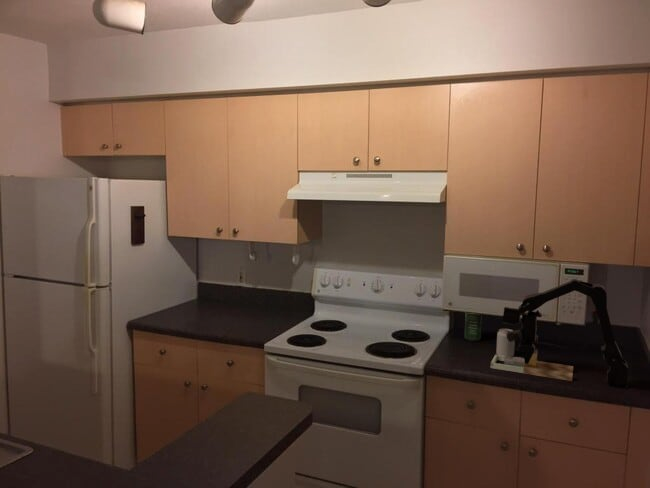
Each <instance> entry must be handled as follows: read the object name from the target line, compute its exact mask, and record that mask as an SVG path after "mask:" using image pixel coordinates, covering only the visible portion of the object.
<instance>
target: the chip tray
mask: <svg viewBox="0 0 650 488" xmlns="http://www.w3.org/2000/svg"><path fill="white" fill-rule="evenodd" d="M504 358H505V356H502V355H498V354H497V353H495V354H494V357H493V358H492V360H491V362H490V369H495V370H502V371H508V372H514V373H520V374H524V373H523V372H524V368H523V367H517V366H511V365H504V363H499V362H498V363H497V361H500V362H501V361H502V362H504Z"/></svg>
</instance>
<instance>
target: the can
mask: <svg viewBox="0 0 650 488" xmlns="http://www.w3.org/2000/svg"><path fill="white" fill-rule="evenodd" d="M510 331H514V330H513V329H509V328H499V329H498V331H497V334H496V353H495V354H496V355H502V356H511V357H514V356H515V341H516V340H514V341H512V342H509V341H508V339H507V335H506V334H507V332H510Z"/></svg>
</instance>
